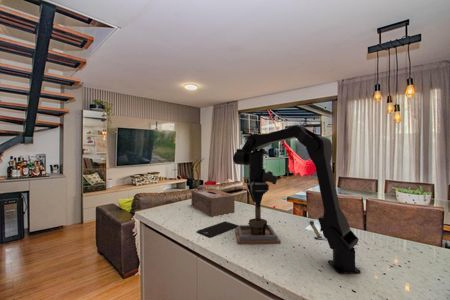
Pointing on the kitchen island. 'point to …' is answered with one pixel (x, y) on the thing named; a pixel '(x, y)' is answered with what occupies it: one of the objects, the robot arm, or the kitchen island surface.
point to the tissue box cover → (213, 202)
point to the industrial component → (258, 223)
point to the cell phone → (217, 229)
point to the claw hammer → (316, 231)
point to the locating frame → (255, 237)
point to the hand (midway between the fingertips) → (256, 204)
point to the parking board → (248, 232)
